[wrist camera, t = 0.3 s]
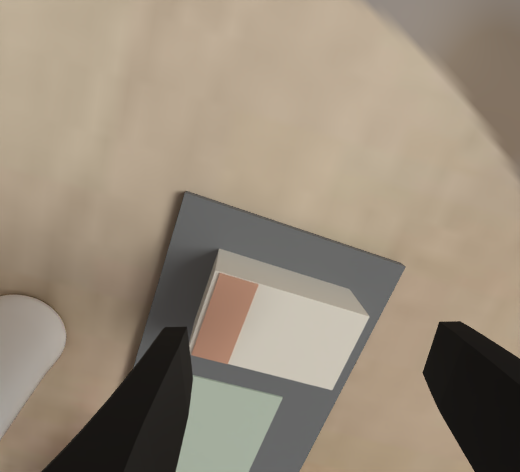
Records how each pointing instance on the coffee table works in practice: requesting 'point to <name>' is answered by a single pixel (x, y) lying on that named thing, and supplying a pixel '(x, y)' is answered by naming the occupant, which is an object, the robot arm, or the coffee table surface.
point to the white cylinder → (25, 351)
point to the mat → (245, 380)
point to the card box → (276, 321)
